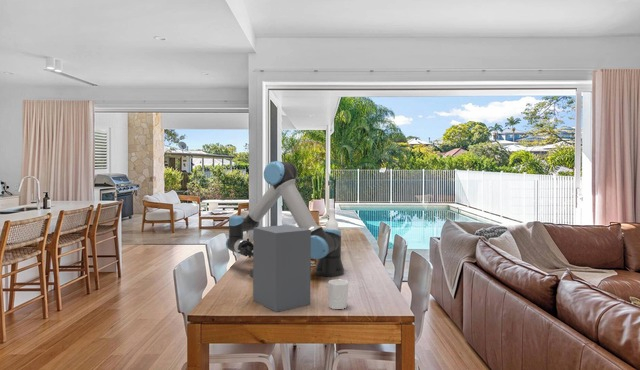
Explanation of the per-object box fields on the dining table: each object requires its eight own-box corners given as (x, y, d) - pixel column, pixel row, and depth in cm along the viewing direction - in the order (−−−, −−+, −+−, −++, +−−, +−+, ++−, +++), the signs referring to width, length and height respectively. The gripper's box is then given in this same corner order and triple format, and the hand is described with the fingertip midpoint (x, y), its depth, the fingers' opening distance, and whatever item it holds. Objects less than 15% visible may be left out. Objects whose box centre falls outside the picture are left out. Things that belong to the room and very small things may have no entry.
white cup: (327, 304, 171) (327, 279, 171) (346, 303, 172) (346, 279, 171) (329, 310, 163) (329, 284, 163) (349, 310, 164) (349, 284, 164)
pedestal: (253, 300, 175) (253, 227, 174) (286, 293, 185) (286, 224, 184) (275, 312, 161) (276, 233, 160) (310, 304, 170) (310, 229, 169)
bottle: (340, 256, 266) (340, 208, 265) (329, 257, 262) (330, 208, 261) (333, 254, 273) (333, 207, 272) (322, 255, 269) (323, 207, 268)
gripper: (261, 252, 229) (284, 260, 210) (226, 256, 216) (247, 265, 198) (261, 238, 228) (284, 244, 210) (226, 242, 216) (247, 249, 198)
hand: (266, 254), depth 204 cm, fingers open, 7 cm apart
